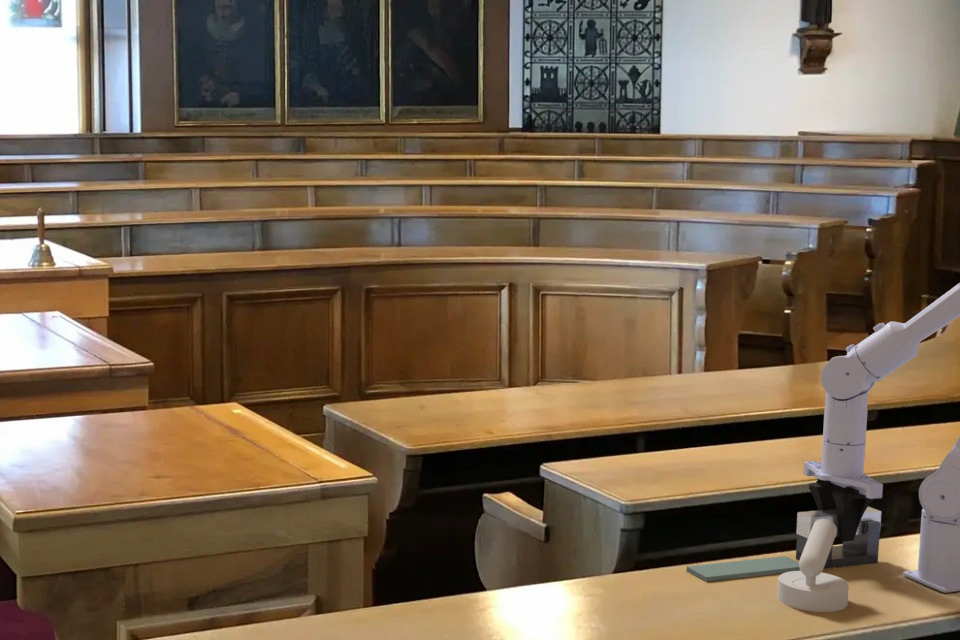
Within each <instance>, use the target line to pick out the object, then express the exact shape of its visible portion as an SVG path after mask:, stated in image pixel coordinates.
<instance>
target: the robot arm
mask: <svg viewBox="0 0 960 640" xmlns="http://www.w3.org/2000/svg"><path fill="white" fill-rule="evenodd" d="M959 318H960V282H959V283H957V284H956V285H955V286H953V287H952V288H951V289H950V290H948V291H946V292H945V293H944V294H942V295H941V296H940V297H939V298H937V299H935V300H934V301H933V302H932V303H930V304H929V305H928V306H926V307H925V308H923V309H922V310H921V311H919V312H918V313H916V314H915V315H914V316H913V317H912V318H910V319H909V320H908V321H906V322H898V321H889V322H887V323H886V324H885V323H884V322H881V323H878V324H876V325H875V326H873V328H872V329H873V331H874V332H873V333H872V334H870V335H868V336H867V337H866V338H864V339H862V340H861V341H860V342H858V343H857V344H856V345H855V344H854V343H851V344H850V345H848V346H847V347H846V348H845V351H846V355H838V356H834V357H832V358H830V360H829V361H828V362H827V363H826V364H825V365H824V366H823V368H822V371H821V373H820V382H821V386H822V389H824V391H825V403H824V413H823V430H822V431H823V433H822V446H821V447H822V448H821V450H822V451H821V461H817V460H810V461H809V460H808V461H804V462H803V476H806V477H814V478H816V479H817V480H816V482H811V483H809V484H808V489H809V491H810V493H811V495H812V497H813V500H814V501H815V505H816V508H817V511H818V510H829V509H837V514H838V541H840V542H842V543H843V542H845V541H854V538H855V535H856V532H857V529H858V526H859V523H860V521H861V518H862V516H863V514H864V512H865V510H866V509H867V507H870V504H871V503H872V502H873V500H875V499H882V498H883V489H884V488H883V487H884V485H883V484H884V483H881V482H879V481H876V480H875V479H874V478H872V477H870V476H869V475H868V474H866V473H865V472H864V471H865V455H866V440H867V439H866V437H867V425H868V424H867V423H868V404H869V403H868V401H869V392H870V391H871V390H872V389H873V387H874V386H875V384H876V382H880V381H881V380H883V379H884V378H886V377H888V376H889V375H891V374H892V373H894V372H895V371H897V370H898V369H900V368H901V367H902V366H904V365H906V364H907V363H908V362H910V361H911V360H913V359H914V358H916V357H917V356H918V353H919V349H920V348H919V347H920V344H921V342H922V341H924V340H925V339H926V338H928V337H930V336H931V335H933V334H934V333H936V332H938V331H939V330H941V329H943V328H945V326H947V325H949V324H951V323H952V322H954V321H955V320H956V319H959ZM918 499H919V503H920V506H921V507H922V509H921V518H920V519H921V520H920V532H919V533H920V534H919V547H918V563H917V569H916V570H915V569H914V570H906V571H903V572H902V575H903V576H904V577H907V578H908V579H911V580H913V581H915V582H917V583H920V584H922V585H925V586H928V587H930V588H932V589H934V590H936V591H939V592H941V593H944V594H945V593H954V592H960V435H959V436H958V438H957V440H956V442H955V443H954V445H953V447H952V448H951V449H950V450H949V452H948V453H947V454H946V456H945V457H944V458H943V460H941V463H940V465H939V467H938V468H937V469H936V470H935V471H934V472H933V473H931V474H929V475H928V476H926V478H925V479H923V480H922V482H921V483H920V486H919V488H918Z"/></svg>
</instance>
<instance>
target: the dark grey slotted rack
mask: <svg viewBox="0 0 960 640" xmlns="http://www.w3.org/2000/svg"><path fill="white" fill-rule="evenodd" d="M880 533H881V525H880V522H878V521H870V522H865V530H864V534H858V535H855V538H854V541H845V542H842V545H836V546H834V543H833V544H832V547H831V550H830V552H829V555H828V558H827V561H826V563H825V566H824V568H823V570H826V569H834V568H833V567H836V568H844V567H843V566H845V567H851V566H863V565H869V564H870V565H871V564H878V563H879V550H880V549H879V547H880V535H881V534H880ZM796 535H797V536H796V549H795V559H796V560H798V561H800V558H801V555H802V552H803V550H804V547H805V545H806V542H807V540H808V538H806V537H803V536H801V535H799V534H796Z"/></svg>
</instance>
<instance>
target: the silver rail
mask: <svg viewBox="0 0 960 640" xmlns="http://www.w3.org/2000/svg"><path fill="white" fill-rule="evenodd" d="M796 517H797V518H796V535H797V534H799V535H801V536H803V537H806V538H808V537H809V535H810V532H811V530H812V527H813V525H814V523H815V521H817V520H819V519H827V520H829V521H831V522H833V523H834V524H835V526H836V528H837V533H836V536H835V538H836V537H838V514H837V509H829V510H818V509H817V510H809V511H798V512H797V515H796ZM870 521H878V522H880V526H881V525H882V523H881V522H882V510H879V509H876V508H873V507H871V506H868V507H867V509H866V510H865V512H864V514H863V516H862V518H861V521H860V523H859V526H858V529H857V532H856V535H858V534H864V530H865V522H870ZM838 538H839V537H838Z"/></svg>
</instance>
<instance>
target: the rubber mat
mask: <svg viewBox="0 0 960 640" xmlns="http://www.w3.org/2000/svg"><path fill="white" fill-rule="evenodd" d="M685 570H686V572H688V573H690V574H691V575H693V576H695V577H697V578H699V579H701V581H704V582H714V581H715V582H716V581H723V580H733V579H734V580H735V579H742V578H752V577H758V576H759V577H760V576H769V575H776V574H783V573H786V572H791V571H801V570H800V568H799V561H797V560H794V559H792V558H790V557H788V556H786V555H782V556H774V557H773V556H772V557H764V558H763V557H762V558H755V559H746V560H737V561H736V560H735V561H727V562H726V561H725V562H718V563H707V564H699V565H689V566H686V569H685Z"/></svg>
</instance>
